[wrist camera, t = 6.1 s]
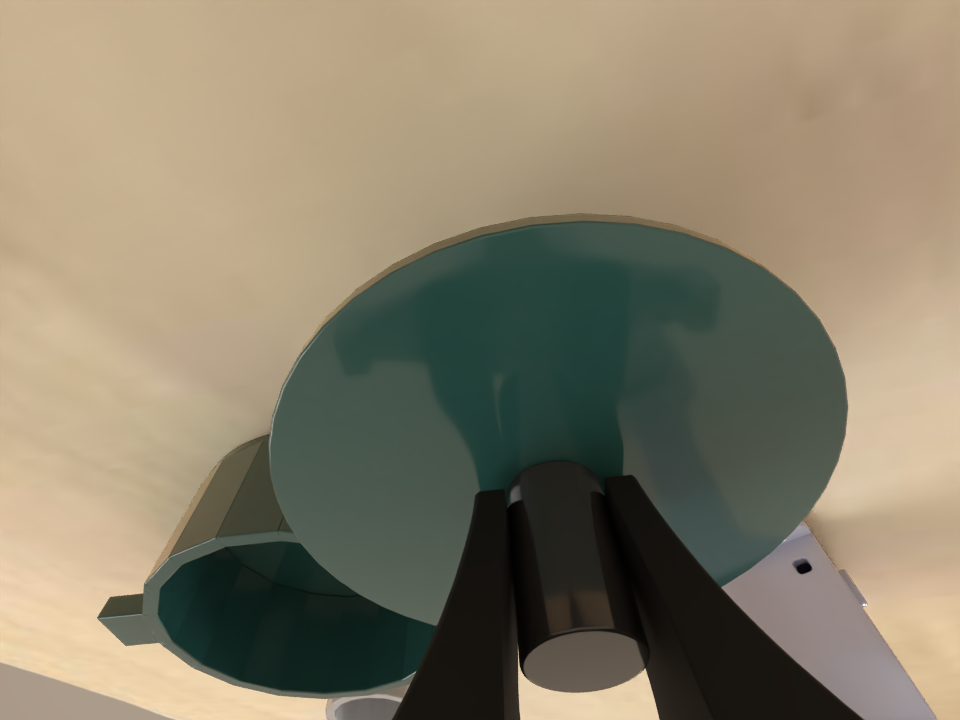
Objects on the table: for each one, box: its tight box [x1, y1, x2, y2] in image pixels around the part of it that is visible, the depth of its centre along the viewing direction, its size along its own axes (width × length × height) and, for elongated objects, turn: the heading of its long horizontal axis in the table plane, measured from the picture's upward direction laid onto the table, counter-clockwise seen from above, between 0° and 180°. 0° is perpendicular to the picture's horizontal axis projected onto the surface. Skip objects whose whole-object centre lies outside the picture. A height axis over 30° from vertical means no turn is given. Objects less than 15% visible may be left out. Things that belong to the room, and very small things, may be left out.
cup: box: [326, 684, 410, 720], centre depth 30 cm, size 5×5×4 cm
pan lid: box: [268, 214, 848, 693], centre depth 11 cm, size 14×14×5 cm
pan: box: [97, 435, 437, 699], centre depth 23 cm, size 13×18×5 cm
